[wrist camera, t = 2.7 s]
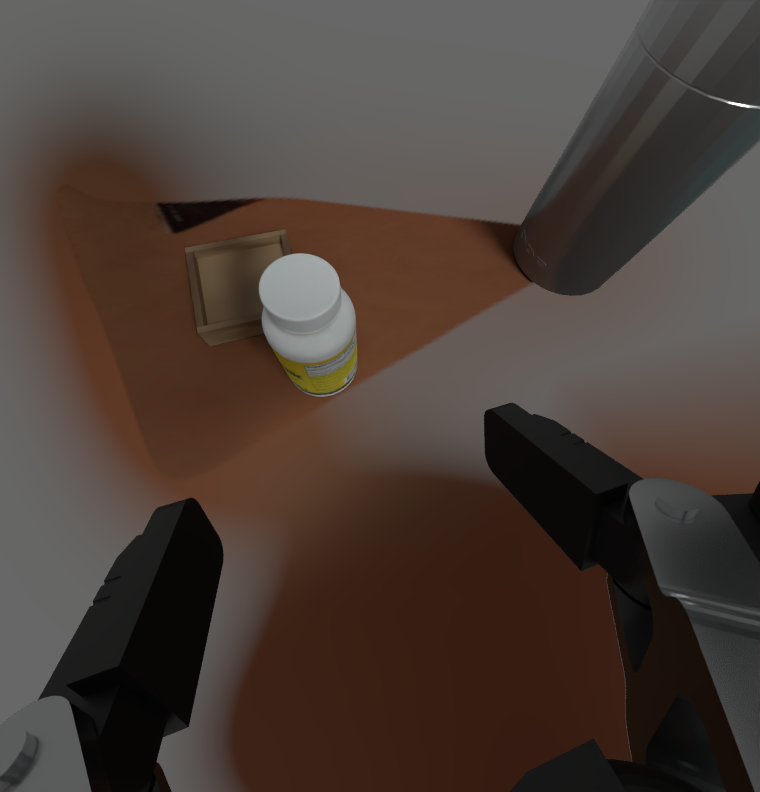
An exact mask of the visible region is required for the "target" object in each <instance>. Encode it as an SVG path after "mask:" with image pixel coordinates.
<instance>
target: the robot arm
mask: <svg viewBox="0 0 760 792" xmlns="http://www.w3.org/2000/svg"><path fill="white" fill-rule="evenodd" d="M758 143H760V0H650V2H649V3H648V5H647V7H646V9H645V10H644V12H643V14H642V16H641V17H640V19H639V21H638V23H637V25H636V26H635V28H634V30H633V32H632V34H631V35H630V37H629V39H628V40H627V42H626V44H625V46H624V47H623V49H622V51H621V52H620V54H619V56H618V58H617V59H616V61H615V63H614V65H613V67H612V68H611V70H610V72H609V73H608V75H607V77H606V79H605V80H604V82H603V84H602V86H601V87H600V89H599V91H598V93H597V94H596V96H595V98H594V99H593V101H592V103H591V105H590V106H589V108H588V110H587V112H586V113H585V115H584V117H583V119H582V120H581V122H580V124H579V125H578V127H577V129H576V131H575V133H574V134H573V136H572V138H571V139H570V141H569V143H568V145H567V146H566V148H565V150H564V152H563V153H562V155H561V157H560V158H559V160H558V162H557V164H556V166H555V167H554V169H553V171H552V172H551V175H550V176H549V178H548V179H547V181H546V183H545V185H544V186H543V188H542V190H541V191H540V193H539V195H538V197H537V198H536V200H535V202H534V204H533V205H532V207H531V209H530V210H529V212H528V214H527V216H526V218H525V220H524V221H523V223H522V224H521V226H520V228H519V230H518V231H517V233H516V236H515V238H514V244H513V250H514V256H515V258H516V261H517V263H518V265H519V267H520V268H521V270H522V271H523V272H524V273H525V274H526V275H527V276H528V278H529V279H530V280H532V281H533V282H535V283H536V284H537V285H539V286H540V287H542V288H545V289H546V290H548V291H551V292H555V293H558V294H562V295H569V296H576V295H584V294H588V293H591V292H593V291H595V290H597V289H599V288H600V287H601V286H602V285H603V284H604V283H605V282H606V281H607V280H608V279H610V278H611V277H612V276H613V275H614V274H615V273H616V272H617V271H619V270H620V269H621V268H622V267H623V266H624V265H625V264H626V263H627V262H629V261H630V260H631V259H632V258H633V257H634V256H635V255H636V254H637V253H639V252H640V251H641V250H642V249H643V248H644V247H645V246H646V245H647V244H649V242H651V241H652V240H653V239H654V238H655V237H656V236H657V235H658V234H659V233H661V232H662V231H663V230H664V229H665V228H666V227H667V226H668V225H669V224H671V223H672V222H673V221H674V220H675V219H676V218H677V217H678V216H679V215H680V214H682V213H683V212H684V211H685V210H686V209H687V208H688V207H689V206H690V205H691V204H692V203H694V202H695V201H696V200H697V199H698V198H699V197H700V196H701V195H702V194H703V193H705V192H706V191H707V190H708V189H709V188H710V187H711V186H712V185H713V184H714V183H716V182H717V181H718V180H719V179H720V178H721V177H722V176H723V175H724V174H726V173H727V172H728V171H729V170H730V169H731V168H732V167H733V166H734V165H735V164H736V163H738V162H739V161H740V160H741V159H742V158H743V157H744V156H745V155H746V154H747V153H749V152H750V151H751V150H752V149H753V148H754V147H755V146H756V145H757V144H758ZM484 435H485V457H486V460H487V463H488V466H489V468H490V469H491V471H492V472H493V474H494V475H495V476H496V477H497V478H498V479H499V480H500V481H501V483H502V484H503V485H504V486H505V487H506V488H507V489H508V490H509V492H510V493H511V494H512V495H513V496H514V497H515V498H516V499H517V500H518V502H519V503H520V504H521V505H522V506H523V507H524V508H525V509H526V510H527V512H528V513H529V514H530V515H531V516H532V517H533V518H534V519H535V520H536V522H537V523H538V524H539V525H540V526H541V527H542V528H543V529H544V530H545V531H546V533H547V534H548V535H549V536H550V537H551V538H552V539H553V540H554V542H555V543H556V544H557V545H558V546H559V547H560V548H561V549H562V551H563V552H564V553H565V554H566V555H567V556H568V557H569V558H570V559H571V561H572V562H573V563H574V564H575V565H576V566H577V567H578V568H579V569H580V571H583V570H586V569H588V568H591V567H594V566H596V565H598V564H599V565H600V566H601V567H602V568H603V569H604V570H605V571H606V572H607V573H608V575H607V587H608V592H609V597H610V602H611V607H612V613H613V617H614V623H615V628H616V633H617V638H618V643H619V649H620V654H621V659H622V664H623V669H624V675H625V683H626V699H625V715H626V726H627V734H628V740H629V746H630V752H631V758H632V762H631V761H624V760H617V759H606V758H605V756H604V755H603V753H602V751H601V750H600V748H599V746H598V745H597V743H596V742H595V740H594V739H592V740H590V741H588V742H586V743H584V744H582V745H580V746H578V747H576V748H574V749H572V750H570V751H568V752H566V753H564V754H562V755H560V756H558V757H556V758H554V759H552V760H550V761H548V762H546V763H544V764H542V765H540V766H538V767H536V768H534V769H532V770H530V771H528V772H526V773H525V774H524V776H523V777H522V778H521V779H520V780H519V782H518V783H517V784H516V785H515V786H514V787H513V789H512V790H511V791H510V792H760V481H759V483H758V485H757V487H756V489H755V491H754V493H753V494H733V495H713V496H710V495H708V494H707V493H705V492H704V491H702V490H700V489H698V488H696V487H693V486H691V485H688V484H685V483H682V482H679V481H674V480H670V479H662V478H649V479H643V478H641V477H639V476H638V475H636V474H635V473H633V472H632V471H630V470H629V469H627V468H625V467H624V466H623V465H621V464H620V463H618V462H617V461H615V460H614V459H612V458H611V457H609V456H608V455H606V454H604V453H603V452H601V451H600V450H598V449H597V448H595V447H594V446H592V445H591V444H589V443H588V442H587V443H585V442H584V440H583V439H582V438H580V437H578V436H577V435H576V434H571V432H570V431H569V430H568V429H566V428H565V427H563V426H562V425H560V424H559V423H557V422H556V421H554V420H551V419H548V418H545V417H542V416H539V415H536V414H533V415H531V414H529V413H528V412H526V411H525V410H524V409H522V408H521V407H519V406H518V405H516V404H514V403H509V404H505V405H502V406H499V407H496V408H492V409H489V410H487V411H486V412H485V415H484ZM222 565H223V547H222V543H221V540H220V537H219V536H218V534H217V532H216V531H215V529H214V527H213V526H212V524H211V522H210V521H209V519H208V518H207V516H206V514H205V512H204V511H203V509H202V507H201V506H200V504H199V503H198V501H196V500H195V499H194V498H188V499H185V500H182V501H178V502H175V503H172V504H169V505H165V506H161V507H158V508H157V509H156V510H155V511H154V513H153V514H152V516H151V518H150V520H149V522H148V524H147V526H146V528H145V530H144V532H143V534H142V535H138V536H136V537H135V539H134V540H133V541H132V542H131V543H130V544H129V545H128V546H127V547H126V549H125V550H124V551H123V552H122V553H121V554H120V555H119V556H118V557H117V559H116V560H115V562H114V564H113V566H112V568H111V570H110V571H109V573H108V575H107V577H106V578H105V580H104V582H105V584H104V585H103V586H101V588H100V589H99V591H98V593H97V595H96V597H95V598H94V600H93V606H91V607H89V609H88V611H87V613H86V615H85V616H84V618H83V620H82V622H81V624H80V625H79V627H78V629H77V631H76V633H75V635H74V636H73V638H72V640H71V642H70V644H69V645H68V647H67V649H66V651H65V653H64V654H63V656H62V658H61V660H60V662H59V663H58V665H57V667H56V669H55V671H54V672H53V674H52V676H51V678H50V680H49V681H48V683H47V685H46V687H45V689H44V691H43V692H42V694H41V696H40V697H39V699H38V700H37V701H35V702H33V703H31V704H30V705H28V706H26V707H24V708H23V709H21V710H20V711H18V712H16V713H15V714H14V715H12V716H11V717H10V718H8V719H7V720H6V721H4V722H3V723H2V724H1V725H0V792H172V791H171V789H170V786H169V784H168V781H167V779H166V776H165V774H164V771H163V769H162V767H161V766H160V764H159V763H158V762H157V757H158V753H159V749H160V745H161V741H162V738H163V737H165V736H167V735H170V734H172V733H175V732H177V731H180V730H182V729H185V728H187V727H189V723H190V718H191V713H192V708H193V704H194V699H195V694H196V689H197V685H198V680H199V675H200V670H201V666H202V661H203V656H204V651H205V647H206V642H207V636H208V632H209V627H210V623H211V618H212V612H213V608H214V603H215V598H216V594H217V589H218V584H219V579H220V575H221V570H222Z"/></svg>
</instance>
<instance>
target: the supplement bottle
mask: <svg viewBox="0 0 760 792" xmlns="http://www.w3.org/2000/svg"><path fill="white" fill-rule="evenodd" d="M259 296H260V299H261V302H262V304H263V306H264V308H263V311H262V327H263V331H264V334H265V336H266V338H267V341H268V342H269V344H270V346H271V348H272V349H273V351H274V353H275V355H276V356H277V358H278V360H279V361H280V363H281V365H282V366H283V368H284V370H285V371H286V373H287V374H288V376H289V378H290V379H291V381H292V382H293V384H294V385H295V386H296V387H297V388H298V389H300V390H301V391H303V392H304V393H306V394H309V395H312V396H321V397H322V396H330V395H333V394H336V393H338V392H340V391H342V390H343V389H345V388H346V387H347V386H348V385H349V384H350V383H351V381H352V380H353V378H354V376H355V373H356V370H357V339H356V317H355V311H354V307H353V304H352V302H351V300H350V298H349V297H348V295H347V294H346V292H345V291H344V290H343V289H342V288H340V281H339V277H338V275H337V273H336V271H335V270H334V268H333V267H332V266H331V265H330V264H329V263H328V262H326V261H325V260H323V259H321V258H319V257H317V256H314V255H310V254H301V253H299V254H291V255H287V256H284V257H281V258H279V259H277V260H276V261H274V262H273V263H271V264H270V265H269V266H268V267H267V268H266V270H265V271H264V273H263V274H262V276H261V278H260V282H259Z"/></svg>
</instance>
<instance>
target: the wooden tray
mask: <svg viewBox="0 0 760 792" xmlns="http://www.w3.org/2000/svg"><path fill="white" fill-rule="evenodd" d="M185 252H186V258H187V265H188V272H189V279H190V285H191V292H192V299H193V306H194V313H195V319H196V326H197V333H198V334H199V335H200V336H201V337H202V338H203V340H204V341H205V342H206V343H207V344H208V345H209V346H214V345H218V344H222V343H227V342H231V341H235V340H240V339H244V338H248V337H253V336H257V335H261V334H264V331H263V327H262V311H263V308H264V306H263V304H262V302H261V299H260V296H259V282H260V278H261V276H262V274H263V273H264V271H265V270H266V268H267V267H268V266H269V265H270V264H271V263H273V262H274V261H276V260H277V259H279V258H281V257H284V256H287V255H291V254H292V252H291V248H290V245H289V241H288V238H287V234H286V230H285V229H284V230H279V231H273V232H268V233H262V234H257V235H251V236H246V237H241V238H235V239H230V240H224V241H219V242H214V243H208V244H203V245H197V246H192V247H186V248H185Z"/></svg>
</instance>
